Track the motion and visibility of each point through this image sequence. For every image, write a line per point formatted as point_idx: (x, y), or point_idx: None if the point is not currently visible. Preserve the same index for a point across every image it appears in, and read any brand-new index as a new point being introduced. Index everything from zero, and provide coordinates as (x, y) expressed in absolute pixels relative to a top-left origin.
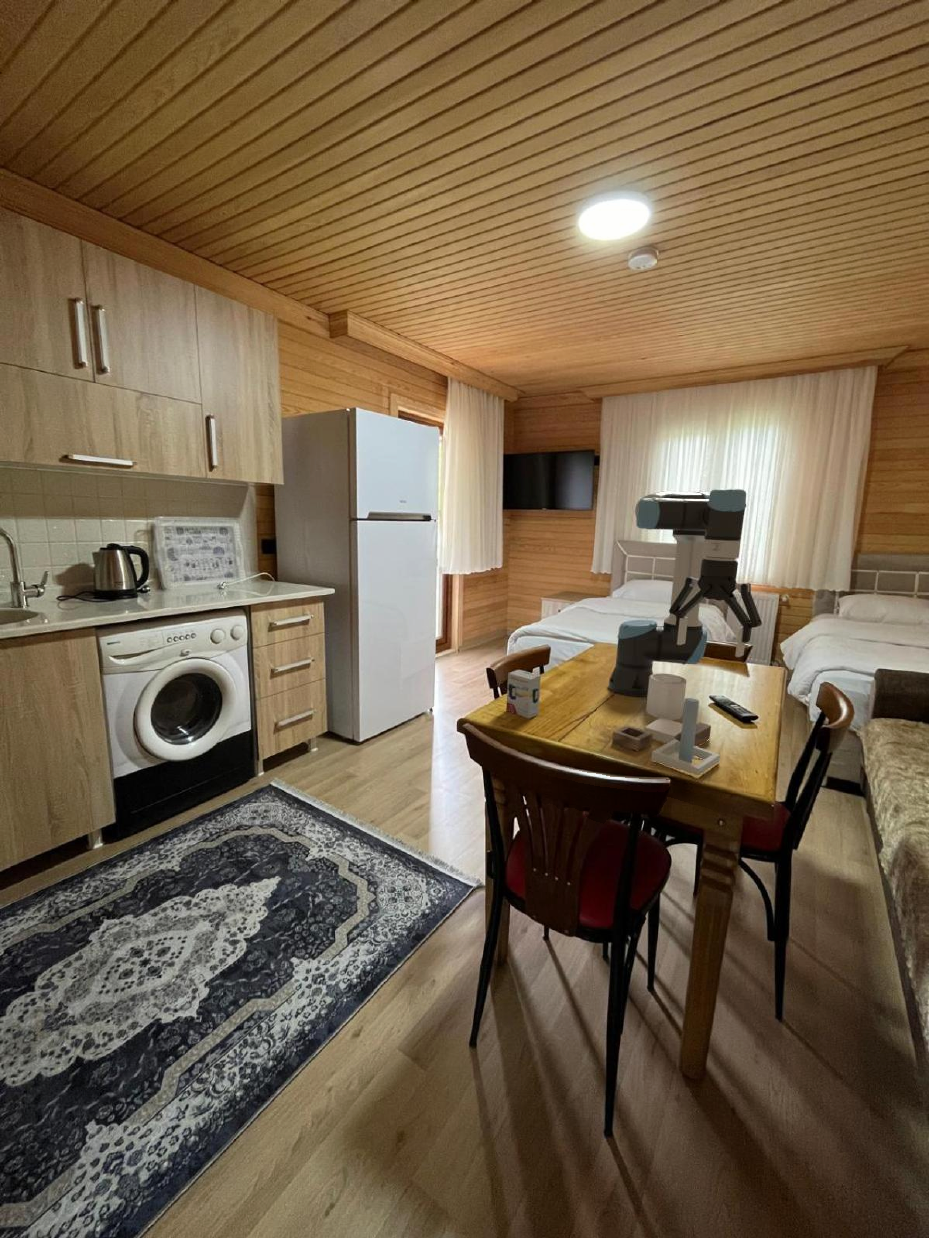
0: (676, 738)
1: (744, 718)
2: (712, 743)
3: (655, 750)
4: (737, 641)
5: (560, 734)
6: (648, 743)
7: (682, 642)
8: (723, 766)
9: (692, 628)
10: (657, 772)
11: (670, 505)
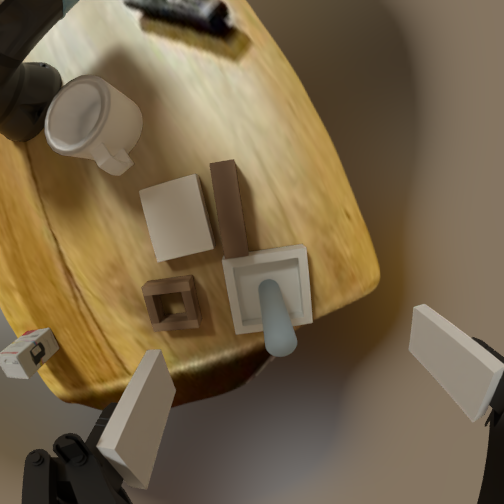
0: (212, 237)
1: (214, 23)
2: (247, 171)
3: (235, 327)
4: (440, 383)
5: (111, 357)
6: (193, 286)
7: (167, 378)
8: (310, 243)
9: None
10: (264, 345)
11: None
